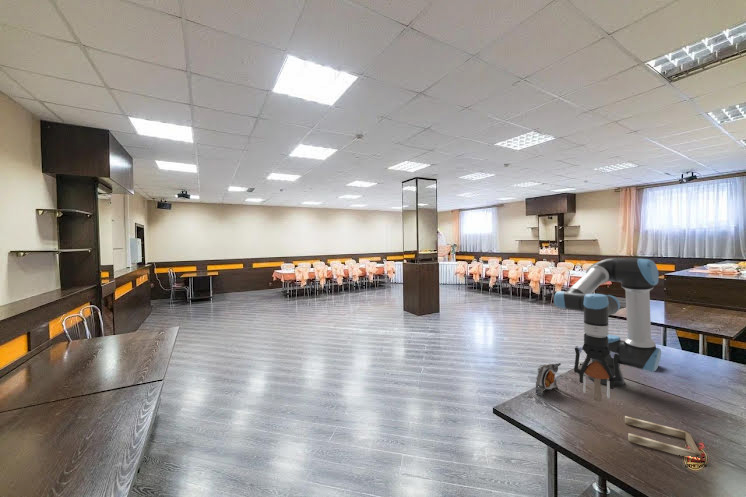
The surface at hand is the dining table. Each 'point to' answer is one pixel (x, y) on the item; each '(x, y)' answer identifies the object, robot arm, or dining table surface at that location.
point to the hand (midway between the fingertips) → (596, 393)
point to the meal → (546, 377)
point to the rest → (660, 445)
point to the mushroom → (597, 377)
